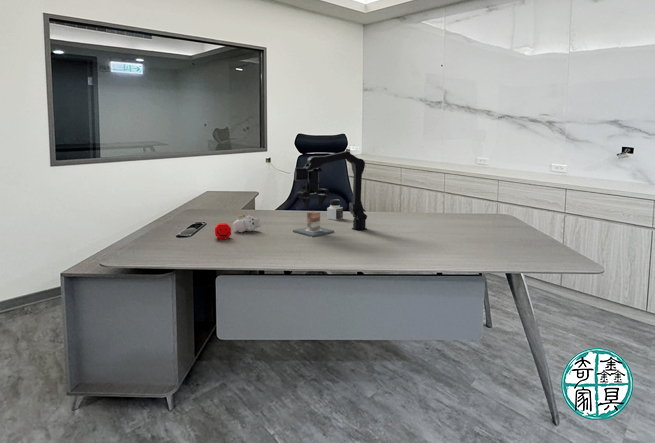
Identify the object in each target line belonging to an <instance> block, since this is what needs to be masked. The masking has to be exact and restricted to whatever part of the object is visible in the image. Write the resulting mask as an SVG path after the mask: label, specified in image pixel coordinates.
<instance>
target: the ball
mask: <svg viewBox="0 0 655 443" xmlns="http://www.w3.org/2000/svg"><path fill="white" fill-rule="evenodd" d="M214 234H215V237H216V238H218V239H219V240H226V239H225V238H228V239H229V238H230V237H231V236H232V226H230V225H229V223H227V222H219V223H217V224H216V225H215V227H214Z"/></svg>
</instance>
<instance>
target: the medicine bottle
mask: <svg viewBox="0 0 655 443" xmlns="http://www.w3.org/2000/svg"><path fill="white" fill-rule="evenodd" d="M329 202H330V205H329V207H327V208H326V213H327V214H326V218H327V220H331V221H332V220H333V221H339V220H342V219H343V216H344V207H343V206H341V200H340V199H337V198H336V199H335V198H334V199H331V200H330V201H329Z"/></svg>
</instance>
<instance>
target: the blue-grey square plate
mask: <svg viewBox="0 0 655 443" xmlns="http://www.w3.org/2000/svg"><path fill="white" fill-rule="evenodd" d="M292 232H293V233H297V234H299V233H300V235H303V234H304V235H303V236H307V235H308V236H307V237H310V236H312V237H311V238H314V237H313V236H315V237H319V236H323V234H324V235H327V234H328V233H329V234H332V233H333V232H334V233H335V230H334V229H333V230H332V229H328V228H326V227H321V226H320V230H318V231H309V230H307V226H306V227H301V228H297V229H293V230H292ZM318 235H319V236H318Z"/></svg>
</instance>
